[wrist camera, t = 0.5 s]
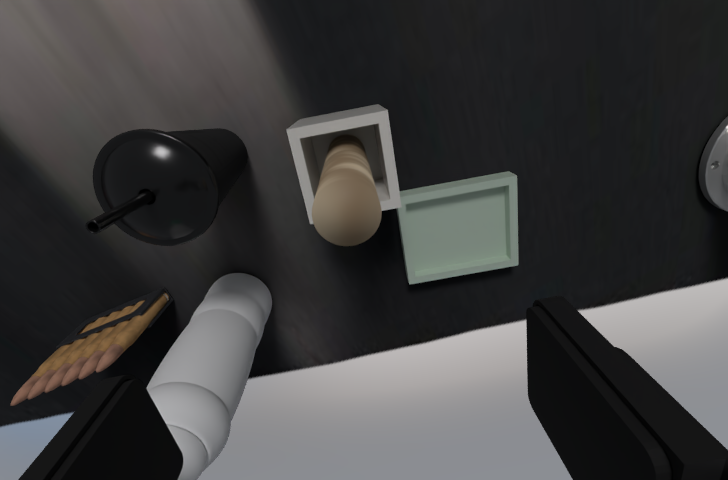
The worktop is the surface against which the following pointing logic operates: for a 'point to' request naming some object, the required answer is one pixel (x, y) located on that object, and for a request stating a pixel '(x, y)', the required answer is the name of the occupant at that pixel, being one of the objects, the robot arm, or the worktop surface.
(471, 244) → the tray
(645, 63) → the worktop surface
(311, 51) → the worktop surface
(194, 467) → the water bottle
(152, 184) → the drinking cup
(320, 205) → the dowel
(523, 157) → the worktop surface
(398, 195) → the holder
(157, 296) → the ammunition clip
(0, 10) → the worktop surface
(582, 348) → the robot arm
